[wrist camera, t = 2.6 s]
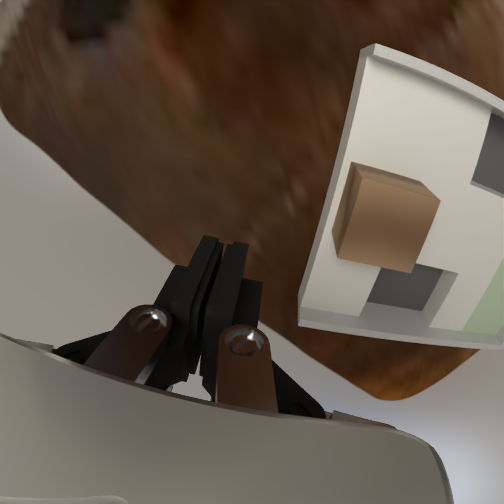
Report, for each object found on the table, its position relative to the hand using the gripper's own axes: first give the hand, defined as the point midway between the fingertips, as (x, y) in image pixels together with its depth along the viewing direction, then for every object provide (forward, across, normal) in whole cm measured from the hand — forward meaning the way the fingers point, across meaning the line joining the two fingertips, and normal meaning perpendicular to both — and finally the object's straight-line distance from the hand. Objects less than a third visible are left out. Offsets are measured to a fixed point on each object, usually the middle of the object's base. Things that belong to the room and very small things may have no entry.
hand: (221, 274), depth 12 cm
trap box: (+12, -16, -1) cm, 20 cm away
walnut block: (+10, -8, -1) cm, 13 cm away
